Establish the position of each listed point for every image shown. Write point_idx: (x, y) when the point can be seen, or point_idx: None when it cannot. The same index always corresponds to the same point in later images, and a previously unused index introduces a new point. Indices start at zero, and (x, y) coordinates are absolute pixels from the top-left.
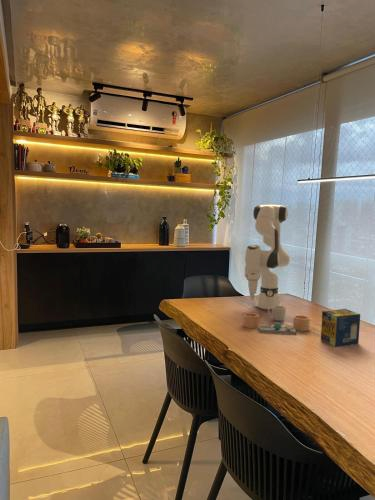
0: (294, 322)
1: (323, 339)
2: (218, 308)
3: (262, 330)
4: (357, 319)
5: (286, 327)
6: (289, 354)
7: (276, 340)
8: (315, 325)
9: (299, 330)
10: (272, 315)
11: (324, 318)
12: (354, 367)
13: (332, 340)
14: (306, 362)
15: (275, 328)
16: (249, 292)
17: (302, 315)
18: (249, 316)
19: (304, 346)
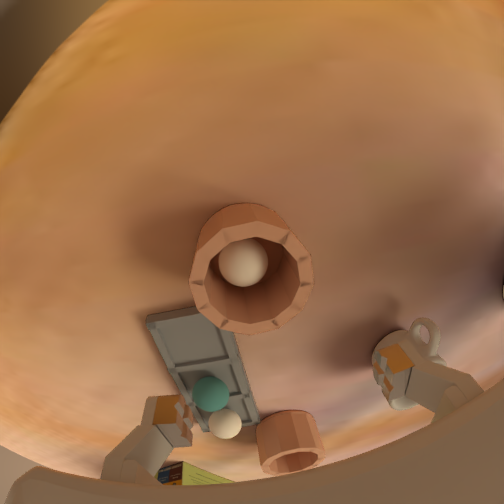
0: (275, 436)
1: (174, 468)
2: (487, 51)
3: (151, 330)
4: None
5: (210, 418)
6: (22, 393)
7: (91, 375)
8: (336, 441)
9: (256, 428)
10: (407, 334)
11: None
12: (63, 465)
13: None
14: (16, 413)
15: (197, 381)
16: (29, 471)
17: (322, 458)
18: (194, 280)
19: (100, 431)
